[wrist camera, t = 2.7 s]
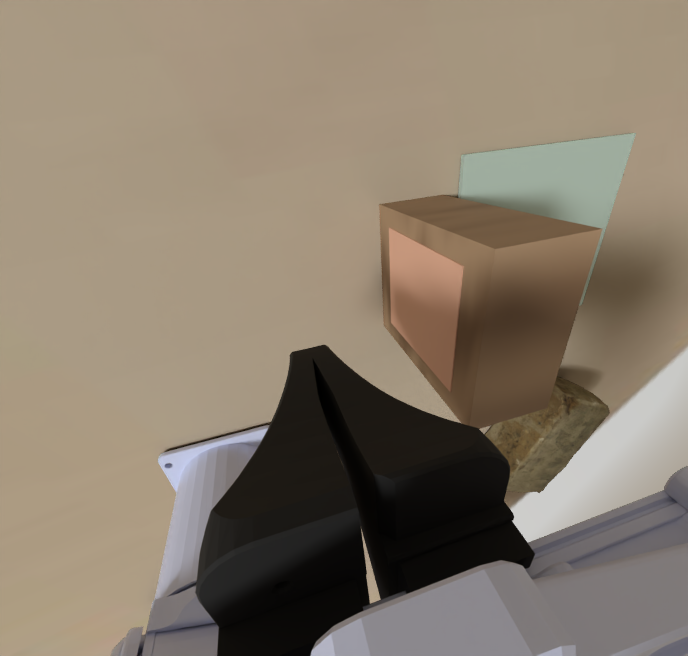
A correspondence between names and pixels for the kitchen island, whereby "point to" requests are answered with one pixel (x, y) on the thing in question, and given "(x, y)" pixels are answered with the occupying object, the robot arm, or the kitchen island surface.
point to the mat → (551, 180)
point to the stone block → (547, 436)
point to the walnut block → (483, 300)
